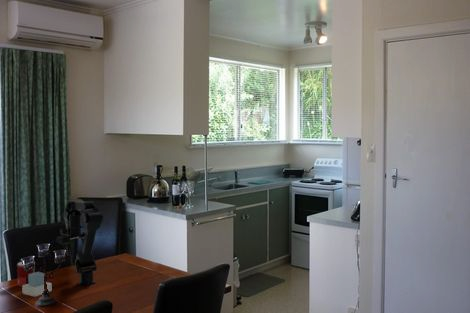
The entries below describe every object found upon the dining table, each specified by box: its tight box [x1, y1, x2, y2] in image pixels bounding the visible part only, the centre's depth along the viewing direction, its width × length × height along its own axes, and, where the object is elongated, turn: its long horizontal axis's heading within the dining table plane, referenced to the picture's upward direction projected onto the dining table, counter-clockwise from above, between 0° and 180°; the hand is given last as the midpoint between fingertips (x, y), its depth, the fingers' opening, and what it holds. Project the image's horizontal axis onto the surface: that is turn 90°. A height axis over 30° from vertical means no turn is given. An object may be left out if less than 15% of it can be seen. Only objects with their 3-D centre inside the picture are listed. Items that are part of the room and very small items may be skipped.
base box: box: [21, 281, 53, 297], centre depth 215 cm, size 9×9×4 cm
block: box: [29, 271, 45, 287], centre depth 215 cm, size 5×5×5 cm
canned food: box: [16, 261, 36, 288], centre depth 225 cm, size 8×8×11 cm
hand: (75, 253), depth 238 cm, fingers open, 9 cm apart
